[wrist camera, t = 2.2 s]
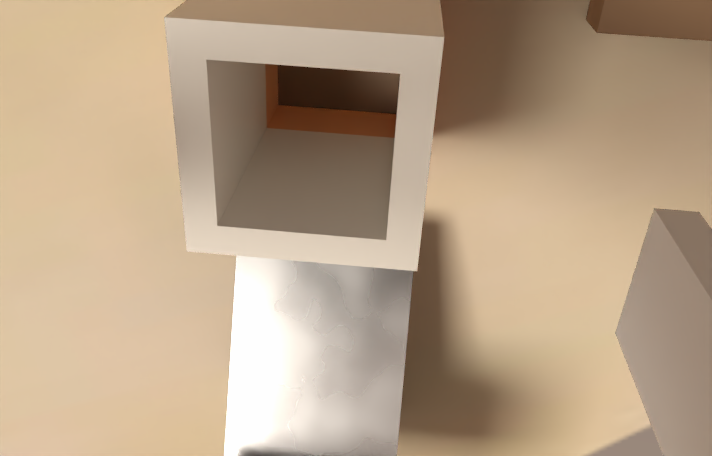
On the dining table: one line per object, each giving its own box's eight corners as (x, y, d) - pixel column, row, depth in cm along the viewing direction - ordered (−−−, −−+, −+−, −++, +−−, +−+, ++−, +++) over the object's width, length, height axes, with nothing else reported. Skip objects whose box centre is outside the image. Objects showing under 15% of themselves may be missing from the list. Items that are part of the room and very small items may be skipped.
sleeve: (250, -49, 20) (164, 17, 14) (436, -36, 20) (444, 37, 13) (255, 125, 23) (186, 251, 16) (417, 138, 23) (417, 271, 16)
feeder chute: (252, 202, 25) (134, 469, 15) (415, 215, 25) (411, 497, 14) (260, 425, 31) (180, 725, 21) (391, 437, 31) (376, 748, 20)
